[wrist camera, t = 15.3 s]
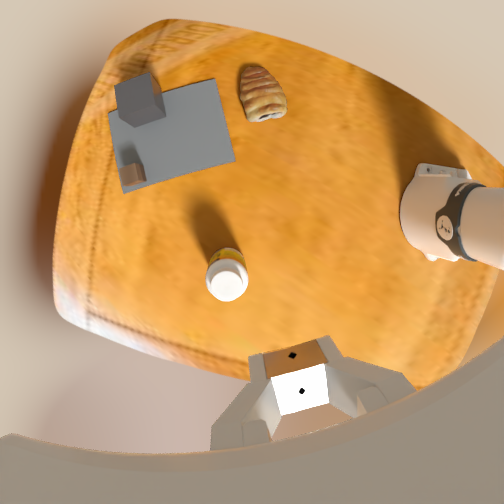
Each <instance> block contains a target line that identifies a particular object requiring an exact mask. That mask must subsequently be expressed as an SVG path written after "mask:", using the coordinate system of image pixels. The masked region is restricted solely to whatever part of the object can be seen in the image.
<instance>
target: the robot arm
mask: <svg viewBox="0 0 504 504" xmlns="http://www.w3.org/2000/svg"><path fill="white" fill-rule="evenodd" d="M427 169H428V171H427ZM400 221H401V226H402V230H403V233H404V235H405V237H406V239H407V240H408V242H409V243H410V244H411V245H412V246H413V247H415V248H416V249H418V250H420V251H422V252H423V254H424V255H425V257H426V258H427V259H428V260H430V261H435V260H436V259H438V258H443V259H447V260H451V261H457V259H459V258H462V259H465V260H468V261H481V262H483V263H486V264H488V265H491V266H494V267H496V268H499V269H501V270H504V188H493V187H486V186H484V185H482V184H481V183H480V182H479V181H478V180H472V179H471V176H470V174H469V172H468V171H466V170H465V169H457V168H451V167H445V166H439V165H433V164H426V163H420V164H418V166H417V168H416V172H415V176H414V178H413V180H412V181H411V182H410V184H409V185H408V186H407V188H406V190H405V192H404V194H403V197H402V201H401V207H400ZM248 361H249V371H250V380H251V383H248V384H246V386H245V387H244V388H243V389H242V391H241V392H240V393H239V394H238V395H237V397H236V398H235V399H234V400H233V402H232V403H231V404H230V405H229V406H228V408H227V409H226V410H225V411H224V412H223V413H222V415H221V416H220V417H219V418H218V420H216V422H215V423H214V424H213V425H212V429H211V445H210V451H204V452H191V453H169V454H168V453H167V454H144V453H142V454H140V453H120V452H107V451H98V450H90V449H82V448H76V447H69V446H64V445H59V444H53V443H49V442H45V441H40V440H36V439H32V438H29V437H25V436H22V435H18V434H8V435H6V436H3V437H1V438H0V504H504V336H503V337H502V338H501V339H499V340H498V341H497V342H496V343H494V344H493V345H491V346H490V347H489V348H487V349H486V350H485V351H483V352H482V353H480V354H479V355H477V356H476V357H474V358H473V359H471V360H470V361H468V362H467V363H465V364H464V365H462V366H460V367H459V368H457V369H456V370H454V371H452V372H451V373H449V374H447V375H446V376H444V377H442V378H440V379H439V380H437V381H435V382H433V383H431V384H430V385H428V386H426V387H424V388H422V389H420V390H418V391H416V389H415V388H414V387H413V386H412V385H411V383H410V382H409V381H408V380H407V379H406V378H405V376H404V375H403V374H402V373H400V372H396V371H393V370H389V369H386V368H383V367H379V366H376V365H373V364H369V363H366V362H363V361H360V360H357V359H353V358H350V357H345V358H344V357H343V356H342V354H341V353H340V351H339V350H338V348H337V346H336V345H335V343H334V342H333V340H332V339H331V337H330V336H329V335H326V336H323V337H320V338H317V339H315V340H312V341H308V342H305V343H302V344H298V345H295V346H291V347H286V348H282V349H277V350H273V351H268V352H264V353H263V354H262V353H259V354H255V355H251V356H249V357H248ZM327 402H329V403H330V404H331V405H333V406H334V407H336V408H338V409H339V410H341V411H343V412H345V413H346V414H348V415H350V416H351V417H353V419H350V420H348V421H345V422H342V423H339V424H336V425H333V426H330V427H326V428H323V429H320V430H316V431H313V432H309V433H305V434H302V435H298V436H294V437H290V438H285V439H281V440H277V441H272V436H273V434H274V432H275V430H276V428H277V426H278V424H279V421H280V419H281V417H282V415H283V414H287V413H290V412H294V411H298V410H301V409H304V408H308V407H312V406H316V405H320V404H323V403H327Z"/></svg>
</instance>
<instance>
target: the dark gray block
mask: <svg viewBox="0 0 504 504" xmlns="http://www.w3.org/2000/svg"><path fill="white" fill-rule="evenodd" d="M114 87H115V95H116V102H117V109H118V116H119V118H120V119H121V120H123V121H125V122H126V123H128V124H129V125H131V126H133V127H134V128H136V127H138V126H141V125H144V124H147V123H150V122H153V121H156V120H159V119H162V118H165V117H166V112H165V107H164V102H163V97H162V92H161V88H160V86H159V85H158V83H157V82H156V80H155V79H154V77H153V76H152V75H151V73H150V72H148V73H146V74H143V75H140V76H137V77H135V78H132V79H129V80H127V81H124V82H122V83H119V84H117V85H114Z"/></svg>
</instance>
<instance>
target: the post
mask: <svg viewBox="0 0 504 504" xmlns="http://www.w3.org/2000/svg"><path fill="white" fill-rule="evenodd" d="M119 172H120V177H121V181H122V186H134V185H137V184H140V183H143V182H146V181H147V179H146V175H145V170H144V166H143V165H141V164H137V163H133V164H130V165H127V166H125V167H122V168H119Z"/></svg>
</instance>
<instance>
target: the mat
mask: <svg viewBox="0 0 504 504" xmlns="http://www.w3.org/2000/svg"><path fill="white" fill-rule="evenodd" d="M162 97H163V102H164V107H165V112H166V117H165V118H162V119H159V120H156V121H153V122H150V123H147V124H144V125H141V126H138V127H136V128H134V127H133V126H131V125H129V124H128V123H126V122H125V121H123V120H121V119H120V118H119V116H118V109H117V110H115V111H113V112H110V113H108V117H109V124H110V130H111V136H112V142H113V147H114V152H115V158H116V163H117V167H118V172H119V168H122V167H125V166H127V165H130V164H133V163H137V164H141V165H143V166H144V170H145V175H146V179H147V181H146V182H143V183H140V184H137V185H134V186H122V181H121V177H120V172H119V177H120V181H121V186H122V190H123V194H125V193H128V192H131V191H134V190H137V189H140V188H143V187H146V186H149V185H152V184H155V183H158V182H161V181H165V180H168V179H171V178H175V177H178V176H181V175H185V174H188V173H192V172H196V171H199V170H203V169H207V168H210V167H214V166H218V165H222V164H226V163H230V162H234V161H235V157H234V153H233V149H232V145H231V141H230V137H229V133H228V129H227V125H226V120H225V116H224V112H223V108H222V104H221V100H220V96H219V92H218V88H217V84H216V81H215V79H212V80H208V81H203V82H199V83H196V84H192V85H188V86H185V87H181V88H178V89H174V90H171V91H168V92H164V93H162Z"/></svg>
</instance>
